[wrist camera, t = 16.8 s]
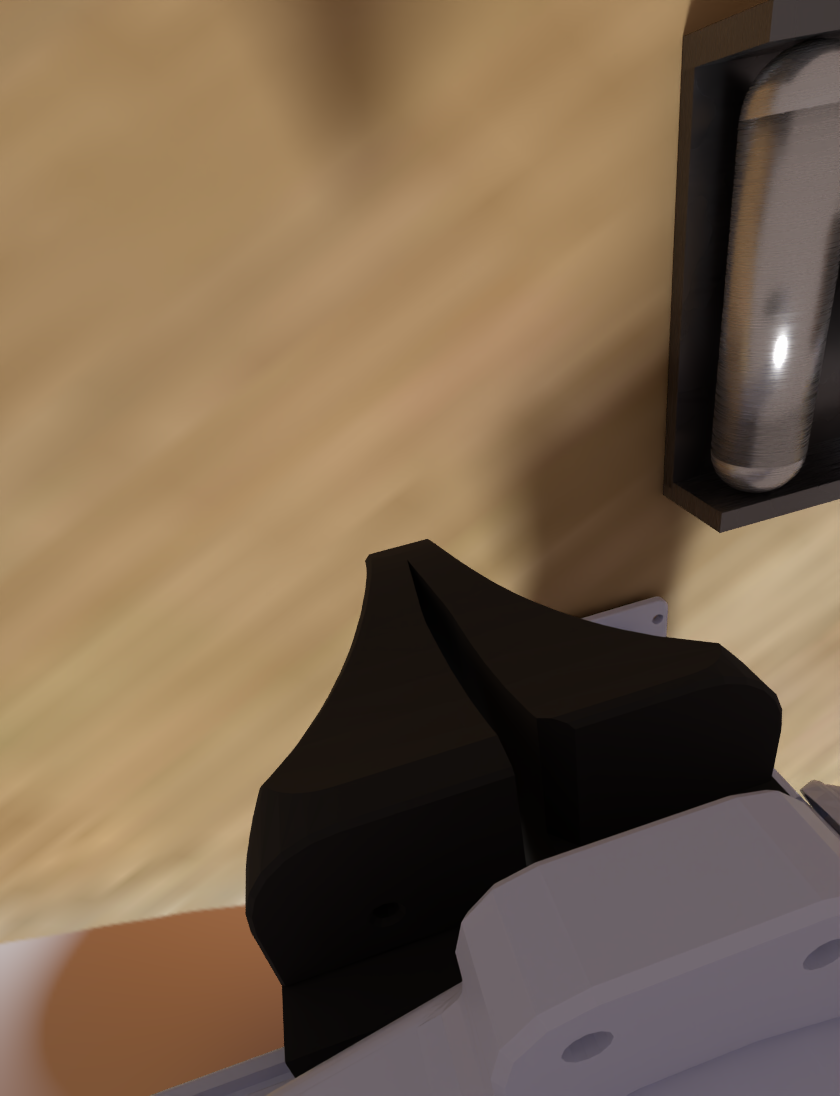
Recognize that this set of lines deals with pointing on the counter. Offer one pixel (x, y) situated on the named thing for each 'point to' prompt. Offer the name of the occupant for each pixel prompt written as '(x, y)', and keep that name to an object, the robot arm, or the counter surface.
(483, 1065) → the robot arm
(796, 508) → the roller bed
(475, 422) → the counter surface
